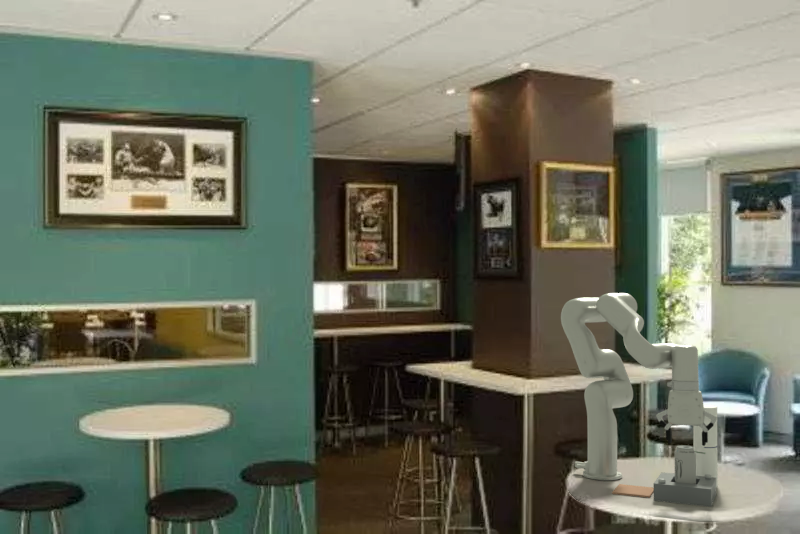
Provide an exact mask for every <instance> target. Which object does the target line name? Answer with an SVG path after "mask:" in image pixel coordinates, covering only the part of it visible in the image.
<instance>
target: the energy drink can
mask: <svg viewBox="0 0 800 534" xmlns="http://www.w3.org/2000/svg"><path fill="white" fill-rule="evenodd" d="M674 474H675V482H677V483H687V484H696V453H695V451H694V447H693V446H691V445H686V444H685V445H677V446H676V449H675V450H674Z"/></svg>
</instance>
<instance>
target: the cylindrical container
mask: <svg viewBox="0 0 800 534" xmlns="http://www.w3.org/2000/svg"><path fill="white" fill-rule="evenodd" d="M703 405H704V410H705V411H706V412H708V413H710V414H712V415H714V416H716V417H717V418H718V406H716V405H712V404H703ZM710 422H711V419H710V418H708V417H706V416H704V423H705V425H706V426H707V425H708V424H709V423H710ZM692 427H693V433H692V435H693V438H692V439H693V441H692V442H693V446H692V447H694V451H695V453H696V476H705V474H710V475H712V477H716V488H718V485H719V484H718V481H719V480H718V476H719V475H718V419H717V420H716V422H715V424H714V425H713V427H712V428H711V429H710V430H708V443H706V444H705V446H703V445H702V431H703V430H702V428H701V427H700V426H692Z"/></svg>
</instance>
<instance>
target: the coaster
mask: <svg viewBox="0 0 800 534" xmlns="http://www.w3.org/2000/svg"><path fill="white" fill-rule="evenodd" d="M611 494H613V495H619V496H620V495H621V496H626V497H627V496H631V497H637V496H639V497H638V498H646V497H648V498H647V499H650V498H651V497H652V496H653V495H654V486H653V487H650V486H642V485H632V484H631V485H630V484H623V483H619V484H618V485H617V486H616V487H615V488H614V489H613V491H612V493H611ZM650 496H651V497H650Z"/></svg>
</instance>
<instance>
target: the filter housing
mask: <svg viewBox="0 0 800 534" xmlns="http://www.w3.org/2000/svg"><path fill="white" fill-rule="evenodd" d="M653 488H654V492H653V501H654V500H655V502H663V501H665V502H666V503H674V504H683V505H692V506H702V507H709V508H710V507H711V508H712V506H713V504H714V501H715V498H716V496H717V487H716V477H712V475H710V474H705V476H696V484H687V483H677V482H675V472H674V473H672V472H660V473H659V475H658V477H657V478H656V480H654V482H653Z"/></svg>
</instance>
